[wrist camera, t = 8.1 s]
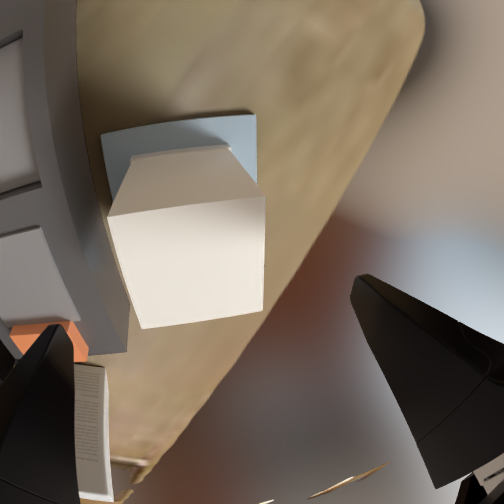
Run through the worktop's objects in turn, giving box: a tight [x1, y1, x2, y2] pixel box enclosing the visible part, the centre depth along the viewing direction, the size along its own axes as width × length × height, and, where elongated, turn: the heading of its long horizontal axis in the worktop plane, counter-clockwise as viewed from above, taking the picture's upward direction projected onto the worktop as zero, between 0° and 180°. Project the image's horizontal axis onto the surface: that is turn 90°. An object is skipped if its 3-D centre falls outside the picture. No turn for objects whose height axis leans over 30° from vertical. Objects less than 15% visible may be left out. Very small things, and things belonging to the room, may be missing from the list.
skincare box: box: [74, 364, 114, 502], centre depth 17 cm, size 6×4×12 cm
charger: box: [107, 144, 266, 329], centre depth 12 cm, size 5×5×7 cm
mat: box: [100, 114, 257, 202], centre depth 15 cm, size 8×8×1 cm
